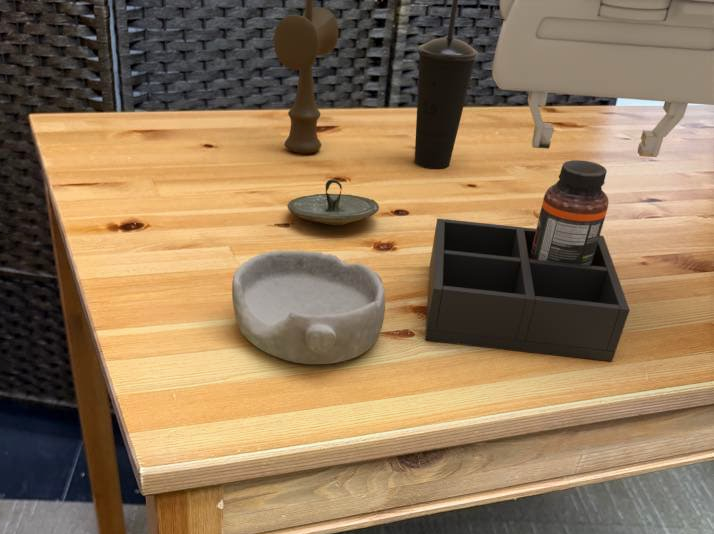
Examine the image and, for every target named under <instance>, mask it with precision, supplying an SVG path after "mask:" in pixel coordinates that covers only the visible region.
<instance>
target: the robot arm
mask: <svg viewBox="0 0 714 534" xmlns="http://www.w3.org/2000/svg"><path fill="white" fill-rule="evenodd" d="M498 4H499V13H500V15H501V17H502V19H503V21H502V25H501V28H500V32H499V35H498V40H497V43H496V47H495V51H494V56H493V60H492V66H491V76H492V79H493V81H494V82H495V84H496V87H498V88H499V89H500V90H503V91H505V90H506V91H516V92H517V91H518V92H528V94H527V103H528V107H529V110H530V113H531V116H532V119H533V123H534V128H533V132H532V138H531V147H532V148H533V149H545V150H546V149H547V150H549V149H550V147H551V144H552V142H551V141H552V140H551V138H553V134H554V126H553V123H552V122H544V120H543V118H542V114H541V111H540V107H545V106H546V105H547V99H548V96H549V94H557V95H570V96H571V95H572V96H585V97H596V98H597V97H600V98H612V99H625V100H640V101H653V102H663V107H662V109H663V110H664V112H665V113H666V114H664V116H663V117H662V118H661V119H660V120H659V122H658V123H657V124H656V126H655V127H653V129H652V130H644V129H643V130H642V133H641V136H640V139H641V140H640V142H639V143H638V147H637V154H638V156H639V157H645V158H657V157H658V156H659V154H660V150H661V147H662V143H663V140H664V138H666V137H667V136H668V134H669V133H671V131H672V130H673V129H674V128H675V127H676V126H677V125H678V124H679V123H680V122H681V121H682V120H683V118H684V117H685V113H686V111H687V107H688V104H693V105H704V106H705V105H707V106H714V0H499V3H498Z"/></svg>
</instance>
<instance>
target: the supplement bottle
mask: <svg viewBox="0 0 714 534" xmlns="http://www.w3.org/2000/svg"><path fill="white" fill-rule="evenodd" d="M606 176H607V168H606V167H605V166H603V165H601V164H600V163H597V162H593V161H588V160H578V159H574V160H573V159H571V160H567V161H565V162H564V163H562V166H561V169H560V172H559V175H558V181H557V182H556V183H555V184H552V185H551V186H550V187H548V189H546V191H545V193H544V195H543V199H542V204H541V207H540V211H539V216H538V220H537V226H536V228H535V229H536V233H535V237H534V242H533V246H532V250H531V254H530V259H534V260H543V261H552V262H562V263H571V264H580V265H590V266H591V264H592V260H593V258H594V253H595V250H596V247H597V243H598V240H599V237H600V235H601V233H602V229H603V226H604V222H605V219H606V215H607V212H608V208H609V197H608V195H607V194H606V193H605V191H603V188H602V187H603V186H604V185H605V180H606Z"/></svg>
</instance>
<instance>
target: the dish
mask: <svg viewBox="0 0 714 534" xmlns="http://www.w3.org/2000/svg"><path fill="white" fill-rule="evenodd" d="M231 282H232V283H231V299H232V306H233V307H232V308H233V313H234V316H235V319H236V323H237V326H238V328H239V330H240V332H241V333H242V335H243V336H244V337H245V339H247V340H248V341H249V342H250V343H251V344H252V345H254V346H255V347H256V348H258V349H260V350H261V351H263V352H265V353H267V354H269V355H271V356H273V357H276V358H279V359H282V360H285V361H288V362H291V363H298V364H305V365H329V364H330V365H331V364H336V363H341V362H346V361H348V360H351V359H354V358H356V357H359V356H361V355H363V354H364V353H366V352H367V351H368V350H369V349H371V348H372V347H373V346H374V345H375V343H376V342H377V340H378V339H379V336H380V334H381V331H382V328H383V323H384V320H385V319H384V317H385V312H386V311H385V309H386V292H385V288H384V284H383V280H382V277H381V276H380V274H379V273H378V272H376V271H374V270H372V269H371V268H370V267H369V266H367V265H365V264H364V263H361V262H358V263H349V262H346V261H344V260H342V259H340V258H339V257H338V256H337V255H334V254H331V253H328V254H327V253H323V252H321V251H320V252H318V251H306V250H272V251H268V252H264V253H260V254H257V255H256V256H253V257H251V258H249V259H248V260H247V261H246V260H245V262H242V264H241V265H239V267H238V268H237V269H236V270H235V272H234V275H233V277H232V281H231Z"/></svg>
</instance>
